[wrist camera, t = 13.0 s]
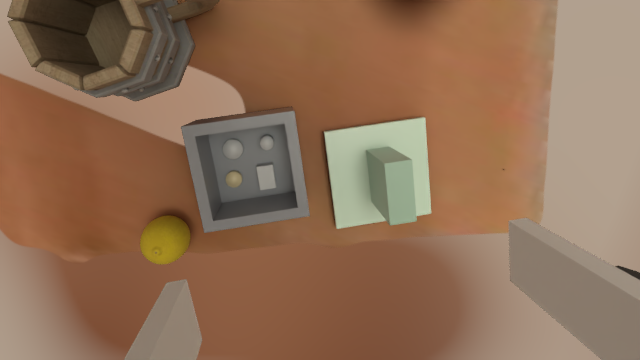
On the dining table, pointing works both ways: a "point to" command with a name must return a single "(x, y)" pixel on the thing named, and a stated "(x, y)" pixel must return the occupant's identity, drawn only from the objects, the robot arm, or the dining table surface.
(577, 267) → the robot arm
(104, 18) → the tankard
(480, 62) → the dining table surface
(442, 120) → the dining table surface
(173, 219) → the lemon
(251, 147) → the parts tub
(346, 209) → the lid
